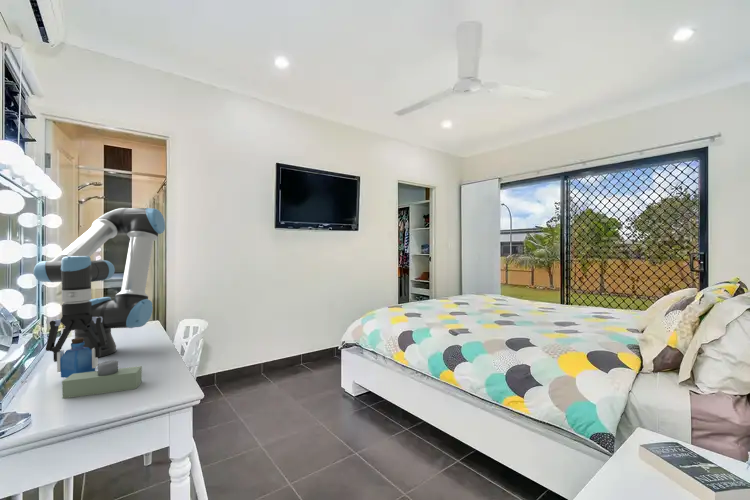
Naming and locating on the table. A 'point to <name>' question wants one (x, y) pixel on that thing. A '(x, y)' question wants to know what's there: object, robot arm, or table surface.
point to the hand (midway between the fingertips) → (78, 368)
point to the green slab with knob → (102, 380)
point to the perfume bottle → (76, 359)
